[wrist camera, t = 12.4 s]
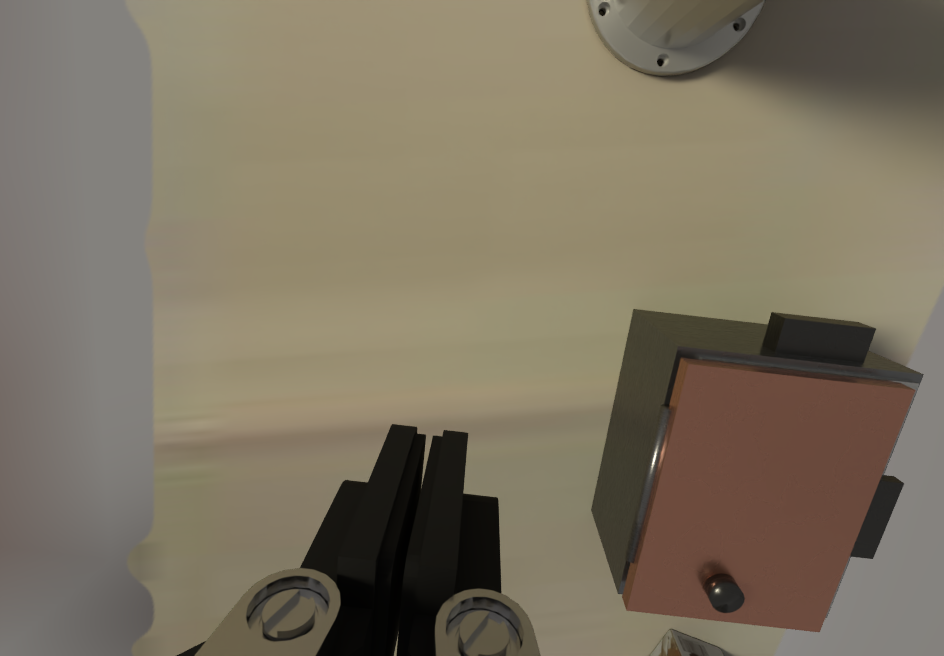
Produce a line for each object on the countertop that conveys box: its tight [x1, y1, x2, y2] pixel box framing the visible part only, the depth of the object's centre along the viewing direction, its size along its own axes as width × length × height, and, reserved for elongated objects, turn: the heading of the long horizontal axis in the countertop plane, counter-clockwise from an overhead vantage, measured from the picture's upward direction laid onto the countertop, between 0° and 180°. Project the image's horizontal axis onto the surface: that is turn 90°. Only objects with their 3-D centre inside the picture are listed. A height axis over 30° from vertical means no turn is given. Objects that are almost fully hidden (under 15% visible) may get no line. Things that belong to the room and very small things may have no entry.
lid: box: [622, 358, 916, 632], centre depth 33 cm, size 19×16×3 cm
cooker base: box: [591, 309, 923, 618], centre depth 39 cm, size 25×17×10 cm
